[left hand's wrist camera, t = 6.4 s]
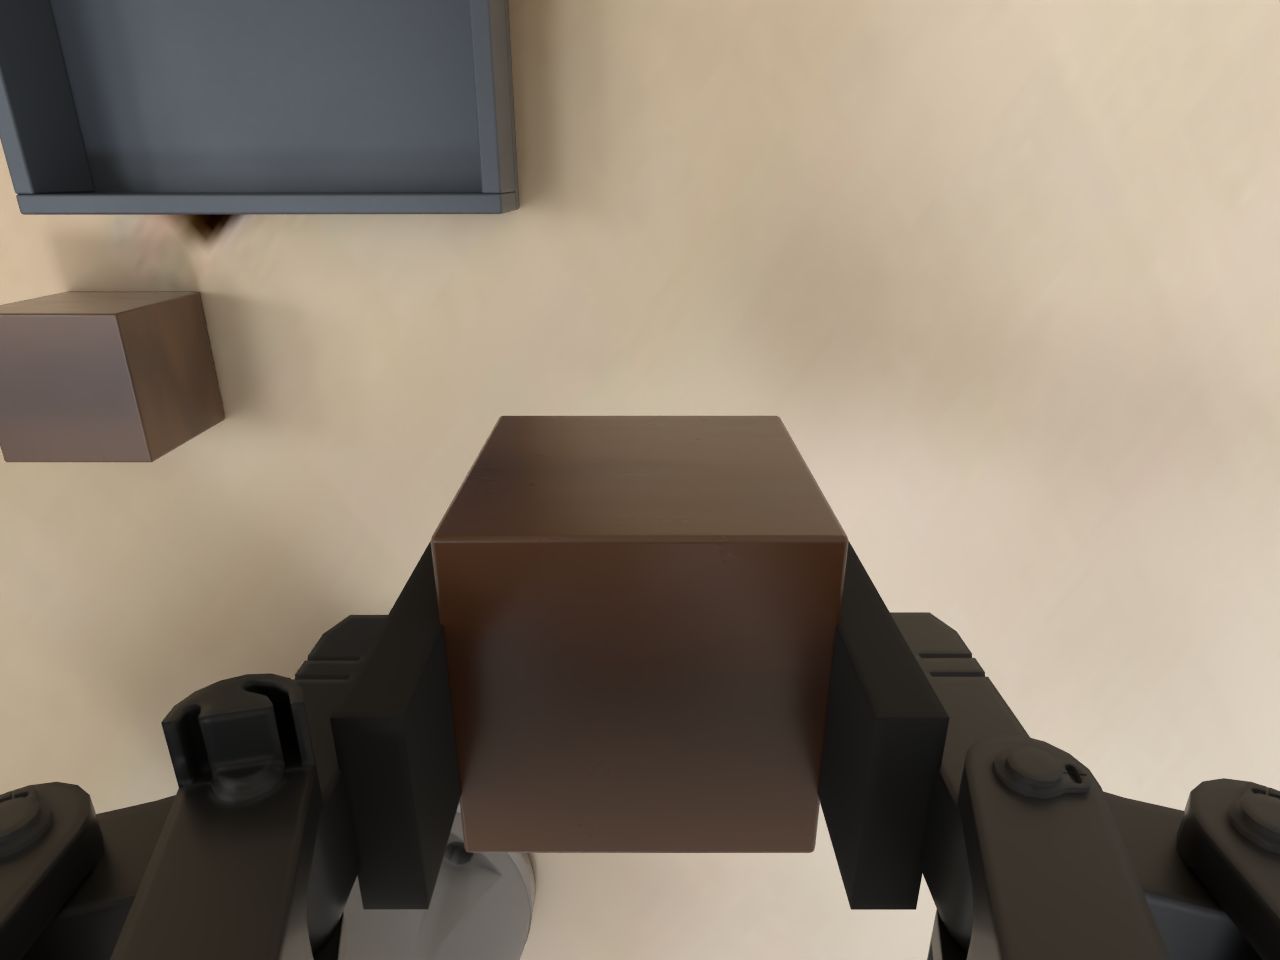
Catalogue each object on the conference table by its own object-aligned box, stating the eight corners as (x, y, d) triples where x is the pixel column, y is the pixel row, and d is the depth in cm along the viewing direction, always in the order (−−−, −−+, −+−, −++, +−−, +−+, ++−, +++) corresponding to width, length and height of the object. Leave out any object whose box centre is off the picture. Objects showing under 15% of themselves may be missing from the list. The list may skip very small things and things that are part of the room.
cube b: (225, 419, 31) (152, 463, 26) (99, 419, 31) (4, 462, 26) (199, 291, 29) (116, 313, 25) (66, 291, 29) (-43, 313, 25)
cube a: (763, 652, 16) (815, 854, 11) (515, 652, 16) (463, 855, 11) (779, 414, 14) (850, 537, 9) (498, 414, 14) (427, 537, 9)
